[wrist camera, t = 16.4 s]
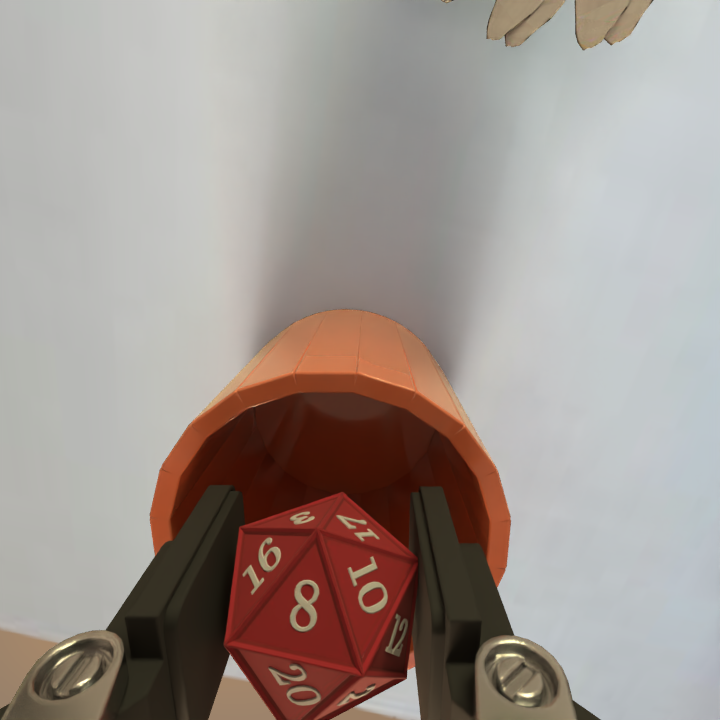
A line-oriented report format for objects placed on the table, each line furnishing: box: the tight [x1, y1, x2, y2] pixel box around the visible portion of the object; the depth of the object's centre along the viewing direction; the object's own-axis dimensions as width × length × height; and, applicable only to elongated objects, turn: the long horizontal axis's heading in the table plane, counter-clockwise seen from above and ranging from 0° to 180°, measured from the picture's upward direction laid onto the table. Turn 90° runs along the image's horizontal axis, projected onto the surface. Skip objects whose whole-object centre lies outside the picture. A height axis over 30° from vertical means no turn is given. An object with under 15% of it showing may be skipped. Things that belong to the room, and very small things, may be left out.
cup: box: [150, 309, 511, 670], centre depth 15 cm, size 9×9×9 cm
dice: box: [224, 492, 418, 720], centre depth 9 cm, size 4×4×4 cm
